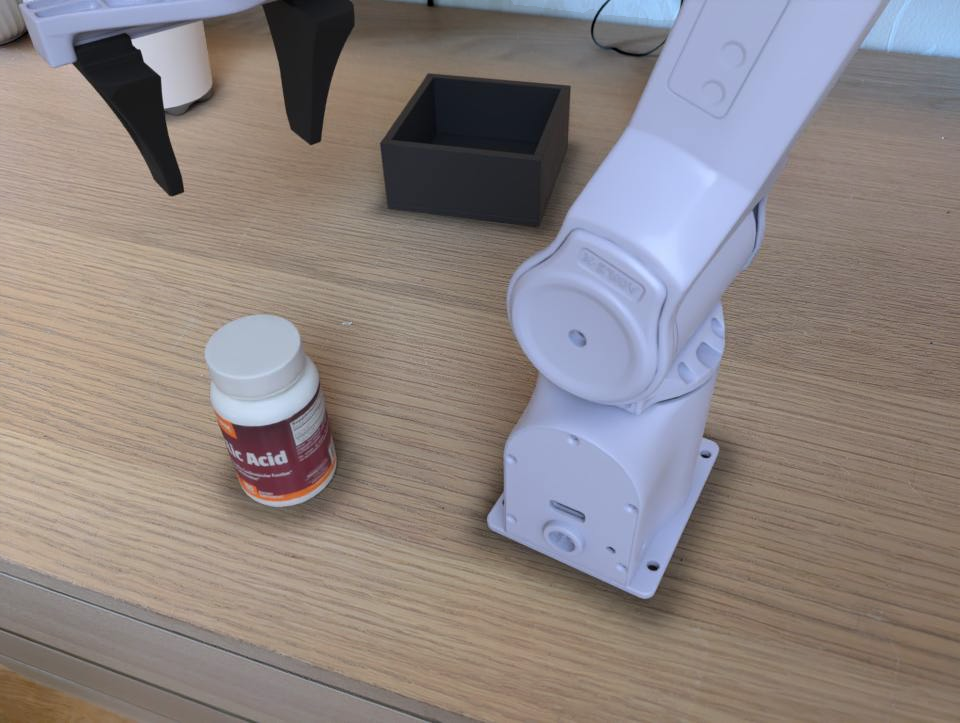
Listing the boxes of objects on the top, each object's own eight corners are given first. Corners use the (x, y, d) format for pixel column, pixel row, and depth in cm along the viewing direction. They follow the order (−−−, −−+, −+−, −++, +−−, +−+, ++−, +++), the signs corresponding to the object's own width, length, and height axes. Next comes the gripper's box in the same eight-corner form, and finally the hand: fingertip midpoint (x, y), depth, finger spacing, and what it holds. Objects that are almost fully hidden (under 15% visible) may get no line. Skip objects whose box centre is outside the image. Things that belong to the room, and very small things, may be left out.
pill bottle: (220, 492, 39) (169, 366, 33) (275, 423, 42) (237, 297, 36) (305, 523, 38) (268, 396, 32) (356, 449, 41) (330, 322, 35)
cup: (213, 125, 66) (167, -42, 57) (92, 128, 66) (28, -38, 58) (239, 72, 73) (202, -84, 65) (130, 75, 73) (78, -81, 65)
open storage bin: (539, 227, 54) (541, 160, 51) (387, 208, 57) (379, 143, 53) (567, 148, 62) (570, 85, 58) (432, 134, 64) (427, 72, 61)
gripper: (287, -193, 37) (321, 87, 47) (-55, -143, 30) (67, 172, 40) (375, -158, 33) (392, 139, 43) (7, -92, 27) (126, 242, 36)
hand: (240, 159), depth 41 cm, fingers open, 7 cm apart
